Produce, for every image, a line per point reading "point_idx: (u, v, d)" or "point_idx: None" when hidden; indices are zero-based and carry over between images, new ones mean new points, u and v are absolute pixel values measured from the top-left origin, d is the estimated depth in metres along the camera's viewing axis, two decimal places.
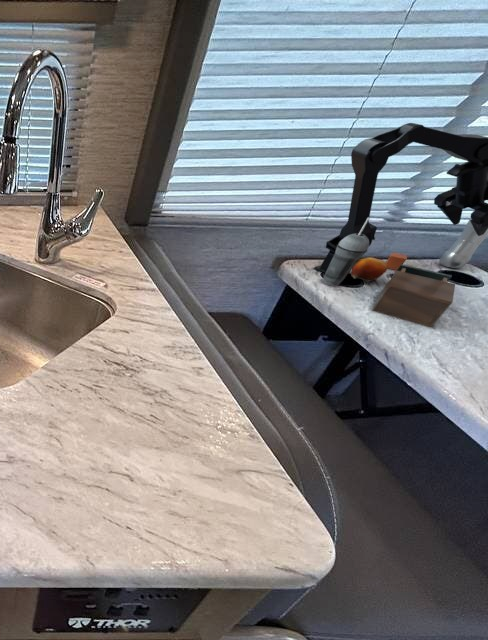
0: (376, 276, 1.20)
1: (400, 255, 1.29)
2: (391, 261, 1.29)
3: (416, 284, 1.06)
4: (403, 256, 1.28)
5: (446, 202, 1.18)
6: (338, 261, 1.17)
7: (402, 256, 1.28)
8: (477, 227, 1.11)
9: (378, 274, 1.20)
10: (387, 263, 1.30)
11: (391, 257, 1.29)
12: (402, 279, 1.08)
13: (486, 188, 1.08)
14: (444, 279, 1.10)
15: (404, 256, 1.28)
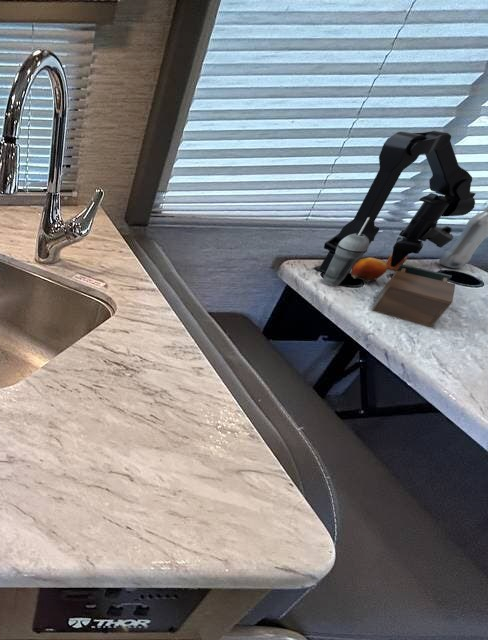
0: (376, 276, 1.20)
1: None
2: None
3: (416, 284, 1.06)
4: None
5: None
6: (338, 261, 1.17)
7: None
8: (393, 253, 1.27)
9: (378, 274, 1.20)
10: (387, 263, 1.30)
11: (391, 257, 1.29)
12: (402, 279, 1.08)
13: (427, 227, 1.20)
14: (444, 279, 1.10)
15: None
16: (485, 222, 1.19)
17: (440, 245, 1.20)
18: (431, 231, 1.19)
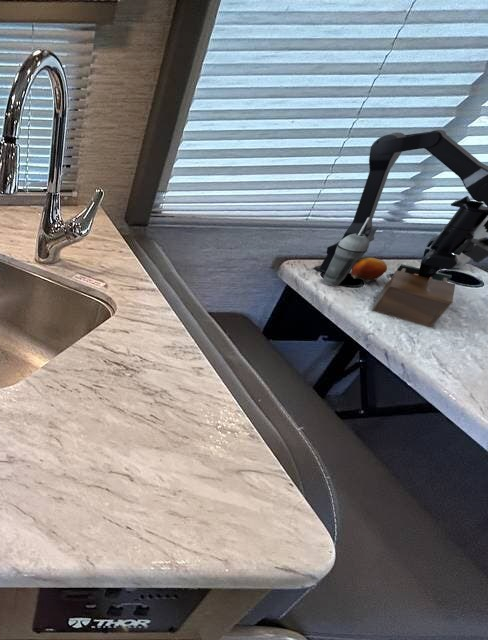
0: (376, 276, 1.20)
1: None
2: None
3: (416, 284, 1.06)
4: None
5: None
6: (338, 261, 1.17)
7: None
8: (420, 269, 1.09)
9: (378, 274, 1.20)
10: None
11: None
12: (402, 279, 1.08)
13: (463, 239, 1.02)
14: (444, 279, 1.10)
15: None
16: (485, 222, 1.19)
17: (477, 260, 1.02)
18: (467, 243, 1.02)
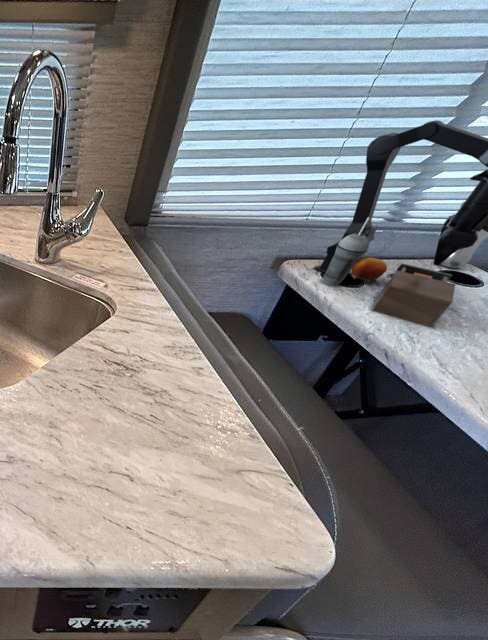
0: (376, 276, 1.20)
1: (424, 276, 1.13)
2: None
3: (416, 284, 1.06)
4: (427, 277, 1.12)
5: None
6: (338, 261, 1.17)
7: None
8: (437, 249, 1.04)
9: (378, 274, 1.20)
10: None
11: None
12: (402, 279, 1.08)
13: (483, 215, 0.98)
14: (444, 278, 1.11)
15: (428, 277, 1.12)
16: None
17: None
18: None
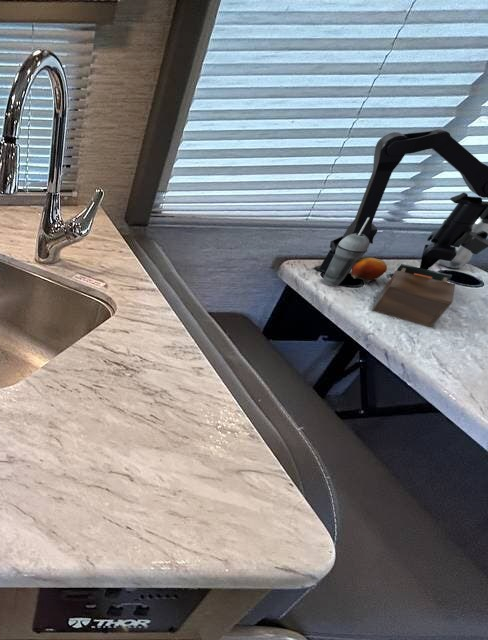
0: (376, 276, 1.20)
1: (424, 276, 1.12)
2: None
3: (416, 284, 1.06)
4: None
5: (432, 242, 1.15)
6: (338, 261, 1.17)
7: None
8: (422, 258, 1.16)
9: (378, 274, 1.20)
10: None
11: None
12: (402, 279, 1.08)
13: (462, 232, 1.08)
14: (444, 279, 1.10)
15: None
16: None
17: (476, 252, 1.08)
18: (466, 236, 1.08)
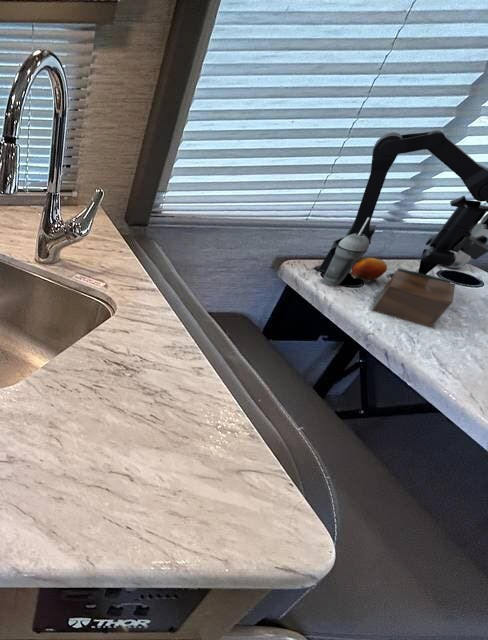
0: (376, 276, 1.20)
1: None
2: None
3: (416, 284, 1.06)
4: None
5: (431, 247, 1.13)
6: (338, 261, 1.17)
7: None
8: (421, 263, 1.14)
9: (378, 274, 1.20)
10: None
11: None
12: (402, 279, 1.08)
13: (461, 237, 1.06)
14: None
15: None
16: None
17: (475, 257, 1.06)
18: (465, 241, 1.06)
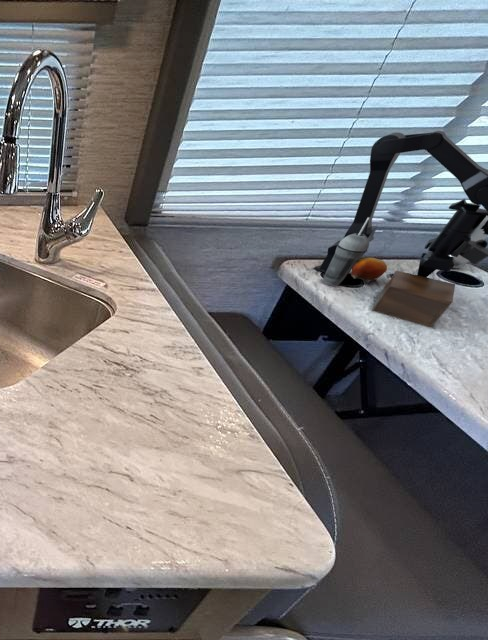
0: (376, 276, 1.20)
1: None
2: None
3: (416, 284, 1.06)
4: None
5: (430, 251, 1.11)
6: (338, 261, 1.17)
7: None
8: (419, 268, 1.12)
9: (378, 274, 1.20)
10: None
11: None
12: (402, 279, 1.08)
13: (460, 241, 1.04)
14: None
15: None
16: None
17: (475, 262, 1.04)
18: (464, 245, 1.03)
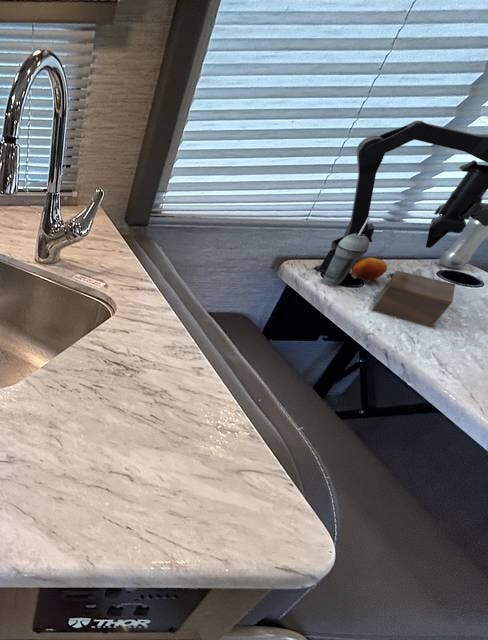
0: (376, 276, 1.20)
1: None
2: None
3: (416, 284, 1.06)
4: None
5: (440, 215, 1.10)
6: (338, 261, 1.17)
7: None
8: (429, 232, 1.11)
9: (378, 274, 1.20)
10: None
11: None
12: (402, 279, 1.08)
13: (471, 203, 1.03)
14: None
15: None
16: None
17: (486, 223, 1.03)
18: (475, 207, 1.03)
